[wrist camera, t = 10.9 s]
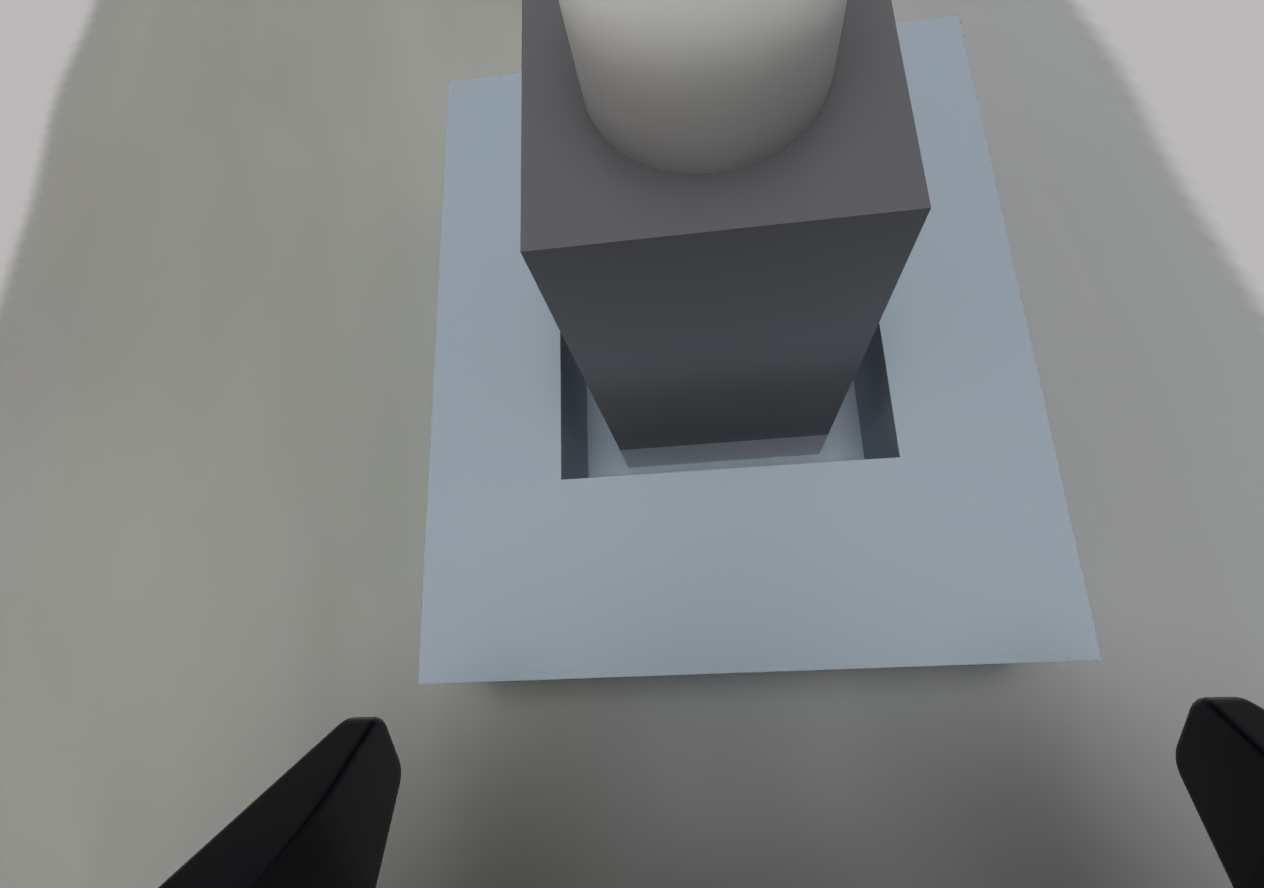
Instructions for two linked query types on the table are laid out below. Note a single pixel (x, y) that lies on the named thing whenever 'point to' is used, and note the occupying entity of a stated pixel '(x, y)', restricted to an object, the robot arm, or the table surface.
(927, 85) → the socket block
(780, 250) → the plug
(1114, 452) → the table surface
